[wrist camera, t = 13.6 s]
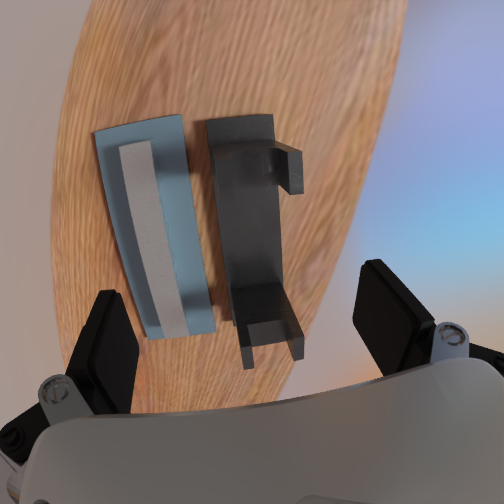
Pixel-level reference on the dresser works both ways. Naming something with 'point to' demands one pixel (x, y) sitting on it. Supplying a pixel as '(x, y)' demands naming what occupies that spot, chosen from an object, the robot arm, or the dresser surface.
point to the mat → (178, 216)
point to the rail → (154, 235)
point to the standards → (254, 228)
